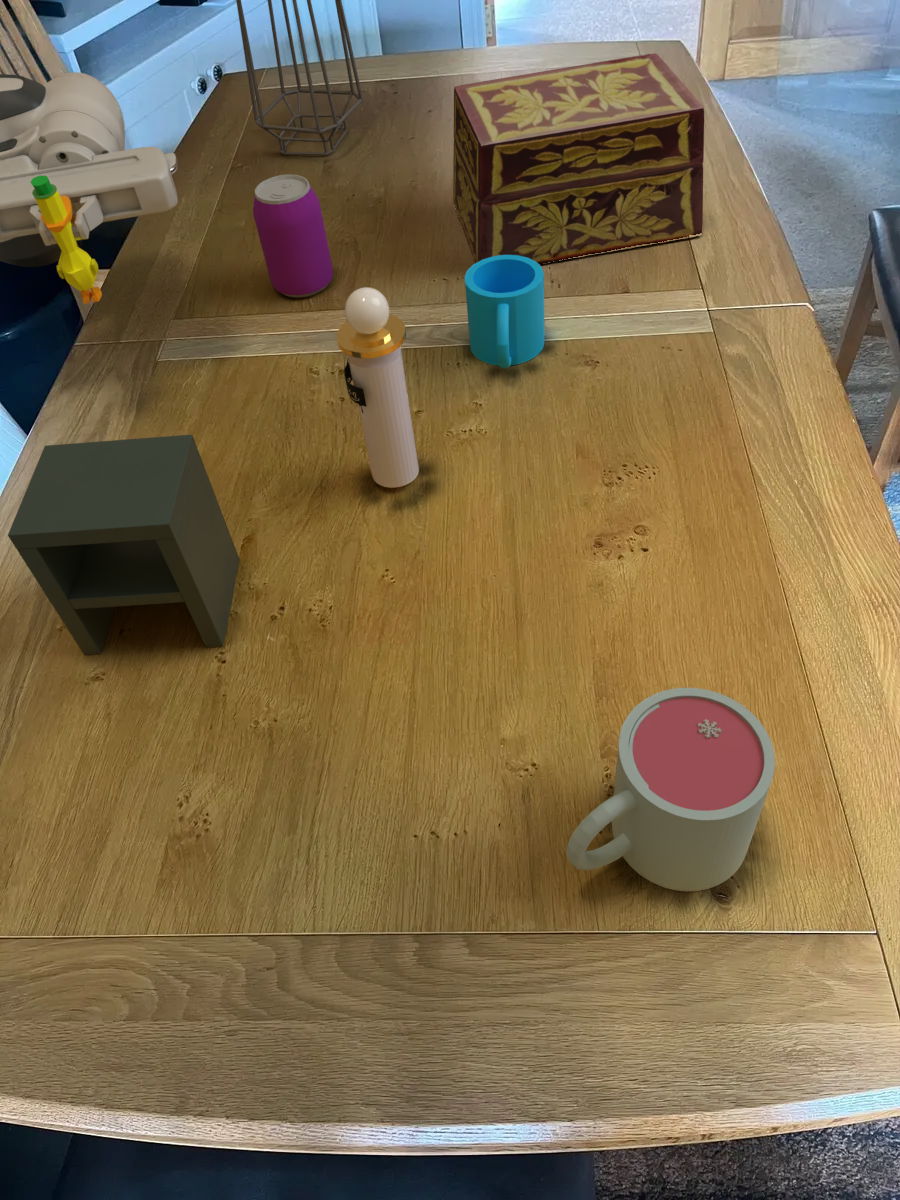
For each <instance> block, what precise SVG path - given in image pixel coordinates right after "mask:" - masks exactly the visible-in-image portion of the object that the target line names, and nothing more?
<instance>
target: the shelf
mask: <svg viewBox="0 0 900 1200" xmlns="http://www.w3.org/2000/svg"><path fill="white" fill-rule="evenodd" d="M7 536H8V539H9V540H10V541H11V543H12V545H13V546H14V548H15V549H16V551H17V552H18V554H19V556H20V557H21V559H22V560H23V562H24V563H25V565H26V566H27V568H28V569H29V571H30V572H31V574H32V576H33V578H34V579H35V580H36V582H37V584H38V585H39V587H40V588H41V590H42V592H43V593H44V594H45V596H46V597H47V600H48V601H49V603H50V604H51V605H52V607H53V609H54V610H55V612H56V613H57V615H58V616H59V618H60V619H61V621H62V623H63V624H64V626H65V627H66V629H67V630H68V632H69V633H70V635H71V637H72V638H73V640H74V642H75V643H76V645H77V646H78V648H79V649H80V651H81V652H82V654H83V655H85V656H88V655H101V654H102V651H103V648H104V644H105V642H106V639H107V634H108V631H109V627H110V624H111V620H112V618H113V614H114V610H115V607H129V606H131V607H132V606H144V605H158V604H160V605H161V604H173V603H174V604H176V603H185V605H186V608H187V610H188V612H189V614H190V616H191V618H192V621H193V622H194V624H195V627H196V629H197V631H198V633H199V635H200V637H201V639H202V642H203V643H204V646H205V648H219V647H224V645H225V639H226V634H227V630H228V625H229V619H230V618H229V617H230V612H231V607H232V603H233V596H234V591H235V585H236V581H237V576H238V575H237V574H238V569H239V564H240V557H239V554H238V551H237V548H236V546H235V543H234V541H233V538H232V535H231V533H230V530H229V528H228V525H227V522H226V519H225V517H224V514H223V512H222V509H221V507H220V504H219V500H218V499H217V496H216V493H215V491H214V488H213V485H212V483H211V480H210V477H209V475H208V473H207V470H206V467H205V464H204V462H203V459H202V456H201V454H200V451H199V449H198V446H197V444H196V440H195V439H194V436H193V434H181V435H180V434H179V435H167V436H154V437H153V436H152V437H141V438H127V439H116V440H115V439H113V440H103V441H88V442H76V443H74V442H73V443H61V444H50V445H49V444H48V445H47V444H46V445H44V447H43V449H42V451H41V454H40V457H39V459H38V461H37V463H36V466H35V468H34V471H33V473H32V476H31V478H30V481H29V483H28V484H27V487H26V490H25V493H24V495H23V498H22V500H21V502H20V505H19V507H18V509H17V512H16V514H15V517H14V519H13V521H12V524H11V527H10V529H9V531H8V534H7Z"/></svg>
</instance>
